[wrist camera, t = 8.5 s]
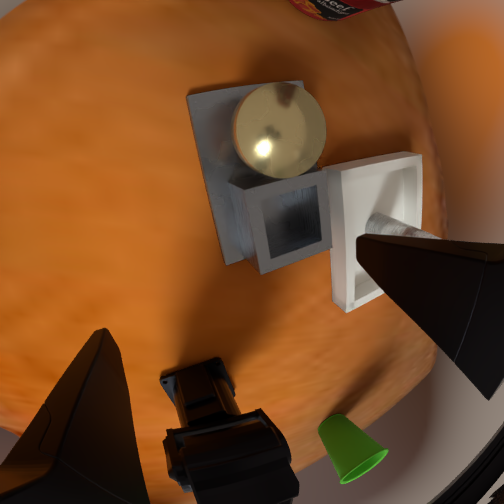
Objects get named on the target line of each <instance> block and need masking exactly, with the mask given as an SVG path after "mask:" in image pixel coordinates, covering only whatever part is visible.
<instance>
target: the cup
mask: <svg viewBox="0 0 504 504" xmlns="http://www.w3.org/2000/svg"><path fill="white" fill-rule="evenodd" d="M318 433H319V435H320V437H321V439H322V442H323V444H324V446H325V448H326V450H327V452H328V454H329V456H330V459H331V461H332V463H333V465H334V467H335V469H336V471H337V473H338V475H339V477H340V483H341V484H345V483H348V482H350V481H352V480H355V479H356V478H358V477H360V476H361V475H363V474H364V473H366V472H368V471H369V470H370V469H372V468H373V467H374V466H375V465H377V464H378V463H379V462H380V461H381V460H382V459H383V458H384V457H385V456H386V455H387V453H388V448H386V449H384V448H383V447H382V446H381V445H379V444H378V443H377V442H376V441H374V440H373V439H372V438H371V437H369V436H368V435H367V434H366V433H365V432H363V431H362V430H361V429H360V428H359V427H357V426H356V425H355V424H354V423H353V422H351V421H350V420H349V419H348V418H347V417H345V416H344V415H342V414H335V415H333V416H331V417H329V418H328V419H326V420H325V421H324V422H323V423H322V424H321V425H320V426H319V428H318Z"/></svg>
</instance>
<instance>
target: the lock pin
mask: <svg viewBox="0 0 504 504" xmlns="http://www.w3.org/2000/svg"><path fill="white" fill-rule="evenodd" d="M365 233H369V234H382V235H395V236H408V237H420V238H431V239H441V238H439V237H436V236H434V235H432V234H430V233H427V232H425V231H423V230H421V229H418V228H416V227H414V226H411V225H409V224H407V223H404V222H402V221H399V220H397V219H395V218H392V217H390V216H387V215H385V214H382V213H379V212H377V213H374V214H372V215H371V216H370V217H369V219H368V221H367V223H366V226H365ZM442 240H443V239H442Z"/></svg>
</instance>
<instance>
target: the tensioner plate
mask: <svg viewBox="0 0 504 504" xmlns="http://www.w3.org/2000/svg"><path fill="white" fill-rule="evenodd" d="M186 101H187V105H188V110H189V115H190V120H191V124H192V129H193V133H194V138H195V143H196V147H197V152H198V156H199V160H200V165H201V169H202V174H203V178H204V182H205V186H206V191H207V195H208V199H209V203H210V207H211V212H212V216H213V220H214V224H215V228H216V232H217V236H218V240H219V244H220V248H221V252H222V256H223V260H224V263H225V264H226V265H229V264H232V263H235V262H238V261H241V260H244V259H247V261H248V262H249V263H250V264H251V265H252V266H253V267H254V268H255V269H256V270H257V271H258V272H259V274H260V275H262V274H265V273H267V272H270V271H273V270H276V269H278V268H281V267H284V266H286V265H289V264H292V263H294V262H297V261H299V260H302V259H305V258H307V257H310V256H313V255H315V254H318V253H320V252H323V251H326V250H328V249H331V248H333V247H332V231H331V218H330V206H329V195H328V185H327V176H326V170H325V169H320V168H317V160H318V158H319V157H320V155H321V153H322V151H323V148H324V145H325V141H326V122H325V118H324V115H323V112H322V110H321V107H320V106H319V104H318V102H317V101H316V100H315V99H314V97H313V96H312V95H311V94H310V93H309V92H307V91H306V90H305V89H304V84H303V80H302V81H286V82H274V83H264V84H255V85H247V86H240V87H233V88H226V89H220V90H214V91H209V92H204V93H198V94H194V95H189V96H186Z"/></svg>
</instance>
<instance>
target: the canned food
mask: <svg viewBox="0 0 504 504" xmlns="http://www.w3.org/2000/svg"><path fill="white" fill-rule="evenodd" d="M289 1H290V3H291V4H293V5H294V6H295V7H296V8H297V9H298V10H300V11H301V12H303V13H304V14H306V15H308V16H310V17H313V18H316V19H319V20H324V21H338V20H343V19H346V18H349V17H351V16H354V15H357V14H360V13H362V12H365V11H368V10H371V9H374V8H377V7H381V6H384V5H387V4H391V3H394V2H398V1H401V0H289Z"/></svg>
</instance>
